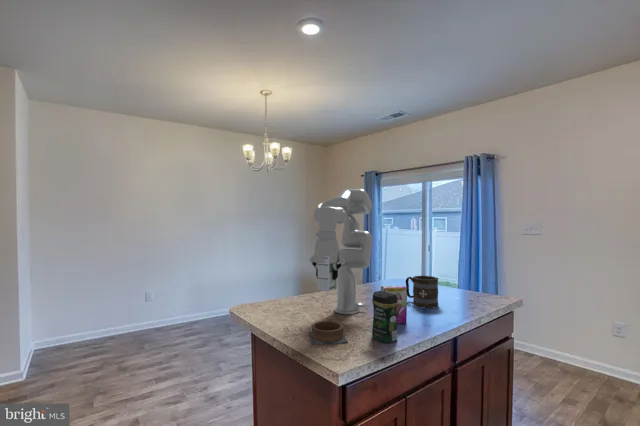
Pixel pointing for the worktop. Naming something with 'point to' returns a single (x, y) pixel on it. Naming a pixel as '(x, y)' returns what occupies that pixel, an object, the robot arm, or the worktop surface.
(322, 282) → the syrup box
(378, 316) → the coffee jar
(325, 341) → the collar
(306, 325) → the worktop surface
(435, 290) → the mug
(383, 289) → the candy bar box
